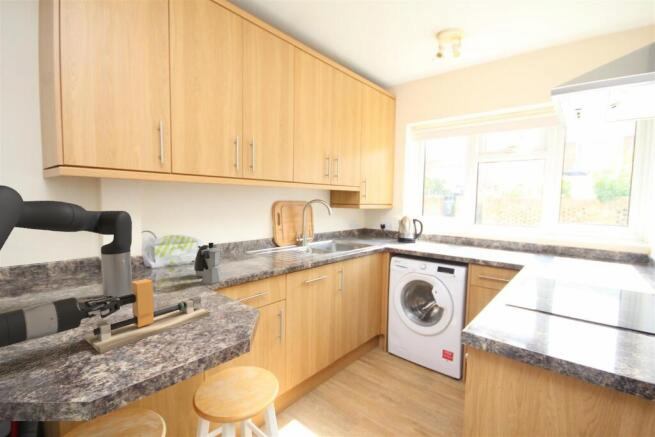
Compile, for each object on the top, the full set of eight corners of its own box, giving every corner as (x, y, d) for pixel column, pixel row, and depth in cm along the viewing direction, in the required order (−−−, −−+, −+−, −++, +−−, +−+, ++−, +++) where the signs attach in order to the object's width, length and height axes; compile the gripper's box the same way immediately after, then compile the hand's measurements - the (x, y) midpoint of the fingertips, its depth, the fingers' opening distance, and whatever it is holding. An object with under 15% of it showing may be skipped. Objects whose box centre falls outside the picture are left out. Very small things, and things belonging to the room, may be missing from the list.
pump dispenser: (209, 272, 151) (208, 242, 150) (221, 275, 145) (220, 244, 144) (189, 276, 143) (188, 245, 142) (201, 279, 137) (200, 247, 136)
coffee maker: (208, 277, 140) (207, 240, 138) (227, 278, 140) (226, 240, 138) (193, 287, 125) (192, 245, 124) (213, 287, 125) (212, 245, 123)
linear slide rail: (85, 339, 79) (84, 321, 78) (190, 307, 102) (189, 293, 102) (100, 353, 72) (99, 333, 71) (209, 315, 95) (209, 300, 94)
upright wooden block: (133, 323, 84) (131, 281, 83) (148, 319, 87) (146, 278, 87) (139, 327, 82) (136, 284, 81) (154, 322, 85) (152, 281, 84)
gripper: (57, 308, 64) (143, 289, 78) (44, 296, 72) (124, 280, 86) (59, 341, 65) (145, 316, 79) (46, 326, 73) (126, 305, 87)
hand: (134, 297), depth 83 cm, fingers closed
